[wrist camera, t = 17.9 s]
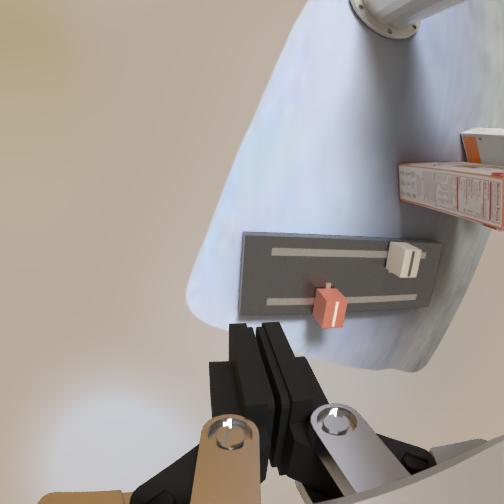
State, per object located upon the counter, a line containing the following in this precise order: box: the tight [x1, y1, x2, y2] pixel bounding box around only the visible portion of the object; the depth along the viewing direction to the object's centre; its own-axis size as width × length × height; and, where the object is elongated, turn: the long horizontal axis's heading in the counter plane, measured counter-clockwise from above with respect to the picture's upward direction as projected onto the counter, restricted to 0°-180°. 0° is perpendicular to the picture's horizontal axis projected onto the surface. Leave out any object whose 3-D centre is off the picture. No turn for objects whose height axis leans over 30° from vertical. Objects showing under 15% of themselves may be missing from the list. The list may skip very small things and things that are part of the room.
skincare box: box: [461, 128, 504, 167], centre depth 38 cm, size 6×4×12 cm
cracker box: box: [398, 162, 504, 231], centre depth 34 cm, size 14×6×21 cm, turn 97°
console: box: [238, 232, 443, 315], centre depth 45 cm, size 11×32×2 cm, turn 86°
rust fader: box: [312, 288, 348, 328], centre depth 43 cm, size 4×3×4 cm
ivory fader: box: [386, 242, 422, 278], centre depth 42 cm, size 4×3×4 cm
